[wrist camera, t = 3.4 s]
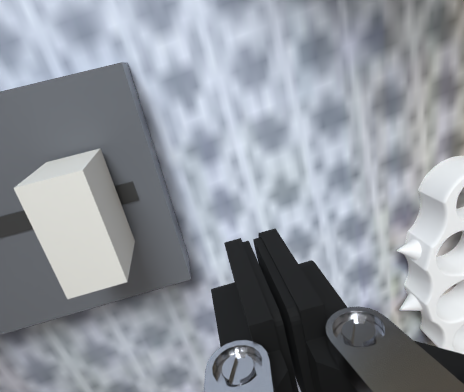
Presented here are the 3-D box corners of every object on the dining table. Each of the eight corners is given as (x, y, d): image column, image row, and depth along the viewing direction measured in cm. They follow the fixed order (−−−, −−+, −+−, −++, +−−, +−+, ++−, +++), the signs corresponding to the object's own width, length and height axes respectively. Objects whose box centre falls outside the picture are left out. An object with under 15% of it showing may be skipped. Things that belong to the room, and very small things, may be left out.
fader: (46, 162, 20) (13, 188, 16) (100, 148, 20) (82, 170, 16) (86, 254, 22) (67, 299, 18) (135, 241, 22) (127, 282, 18)
